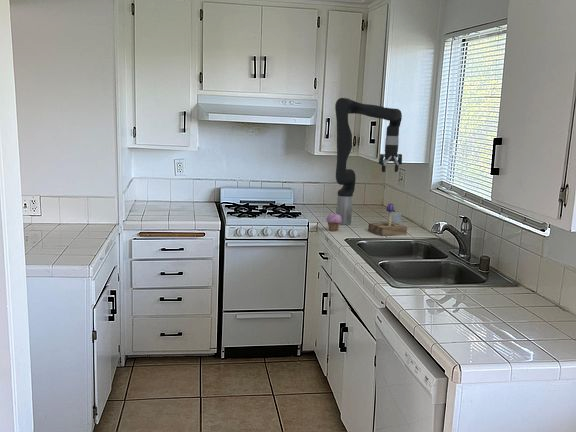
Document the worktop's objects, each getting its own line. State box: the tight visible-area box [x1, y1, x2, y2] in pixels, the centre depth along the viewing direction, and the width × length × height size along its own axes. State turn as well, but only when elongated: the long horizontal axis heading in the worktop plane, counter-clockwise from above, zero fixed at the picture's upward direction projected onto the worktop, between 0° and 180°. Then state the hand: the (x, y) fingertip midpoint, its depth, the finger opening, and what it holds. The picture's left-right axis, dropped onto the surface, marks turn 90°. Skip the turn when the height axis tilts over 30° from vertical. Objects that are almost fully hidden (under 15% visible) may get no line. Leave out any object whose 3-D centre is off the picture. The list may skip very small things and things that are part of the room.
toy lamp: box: [385, 203, 396, 226], centre depth 336 cm, size 5×5×17 cm
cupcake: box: [325, 212, 342, 232], centre depth 336 cm, size 9×9×10 cm
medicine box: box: [387, 211, 403, 225], centre depth 353 cm, size 8×4×9 cm, turn 74°
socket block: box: [368, 221, 408, 237], centre depth 336 cm, size 15×16×5 cm
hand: (389, 172), depth 338 cm, fingers open, 8 cm apart
